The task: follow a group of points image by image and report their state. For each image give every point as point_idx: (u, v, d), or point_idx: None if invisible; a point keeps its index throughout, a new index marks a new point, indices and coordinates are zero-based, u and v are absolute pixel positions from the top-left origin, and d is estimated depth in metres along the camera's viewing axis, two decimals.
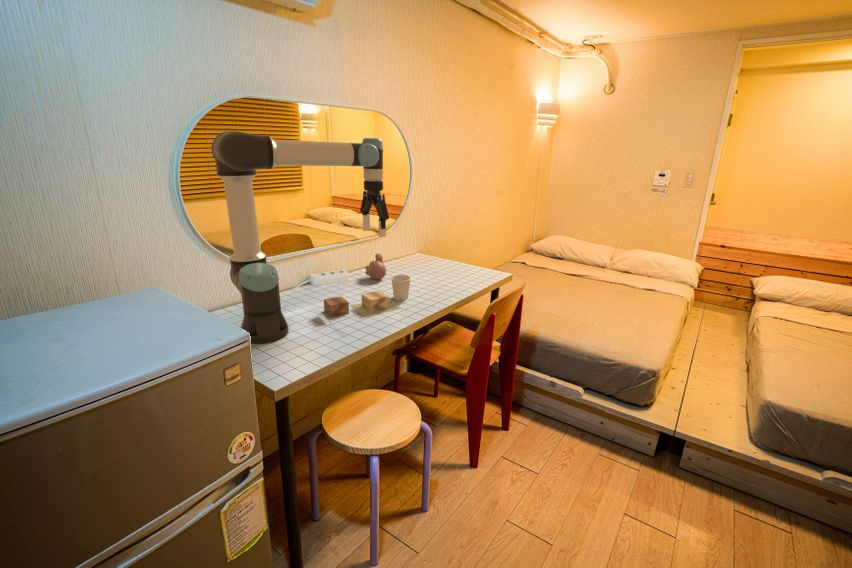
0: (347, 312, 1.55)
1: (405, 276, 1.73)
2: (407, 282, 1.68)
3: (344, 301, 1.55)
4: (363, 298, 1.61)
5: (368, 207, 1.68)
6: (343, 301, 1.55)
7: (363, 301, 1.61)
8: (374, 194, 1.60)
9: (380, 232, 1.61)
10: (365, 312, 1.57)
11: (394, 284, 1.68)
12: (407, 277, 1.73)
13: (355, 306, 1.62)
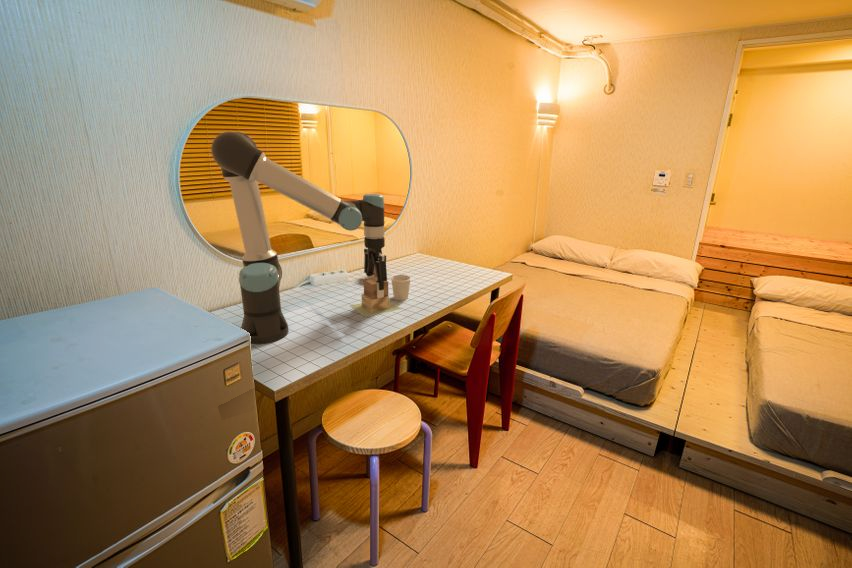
0: (387, 292, 1.59)
1: (405, 276, 1.73)
2: (407, 282, 1.68)
3: (384, 281, 1.58)
4: (363, 298, 1.61)
5: (371, 266, 1.59)
6: None
7: (363, 301, 1.61)
8: (375, 252, 1.52)
9: (378, 293, 1.56)
10: (365, 312, 1.57)
11: (394, 284, 1.68)
12: (407, 277, 1.73)
13: (355, 306, 1.62)
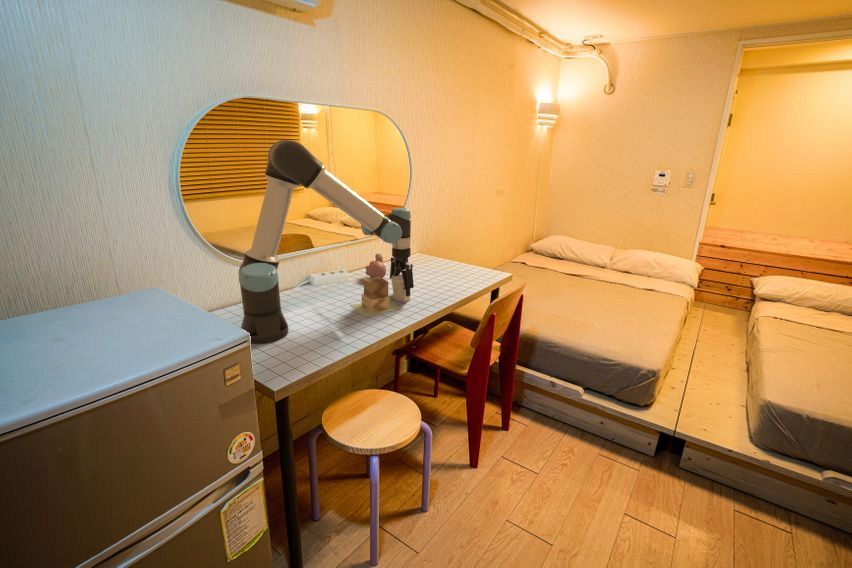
0: (387, 291, 1.59)
1: None
2: None
3: (384, 281, 1.58)
4: (363, 298, 1.61)
5: (397, 273, 1.72)
6: (383, 281, 1.58)
7: (363, 301, 1.61)
8: (402, 261, 1.65)
9: (405, 299, 1.69)
10: (365, 312, 1.57)
11: (394, 284, 1.68)
12: None
13: (355, 306, 1.62)
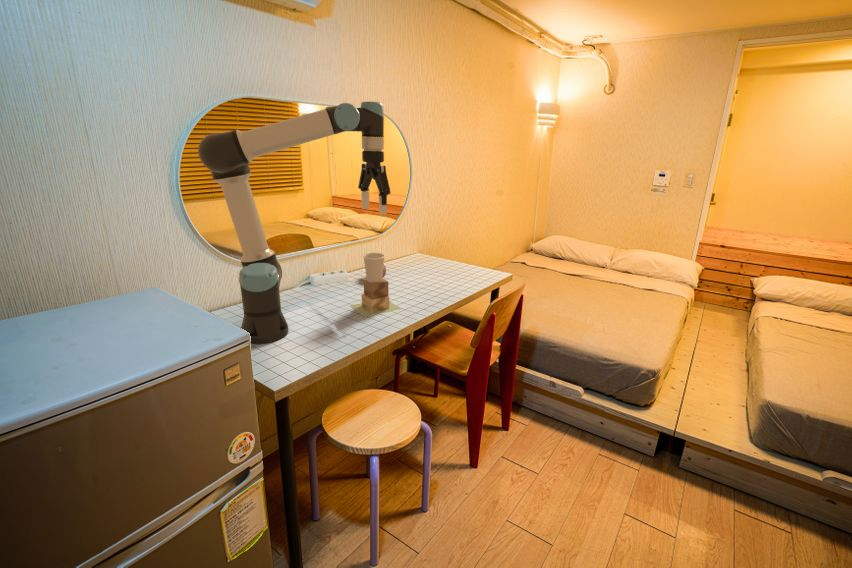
0: (387, 291, 1.59)
1: (379, 254, 1.59)
2: (380, 260, 1.53)
3: (384, 281, 1.58)
4: (363, 298, 1.61)
5: (367, 182, 1.51)
6: (383, 281, 1.58)
7: (363, 301, 1.61)
8: (374, 166, 1.42)
9: (381, 209, 1.44)
10: (365, 312, 1.57)
11: (366, 262, 1.54)
12: (381, 255, 1.58)
13: (355, 306, 1.62)
